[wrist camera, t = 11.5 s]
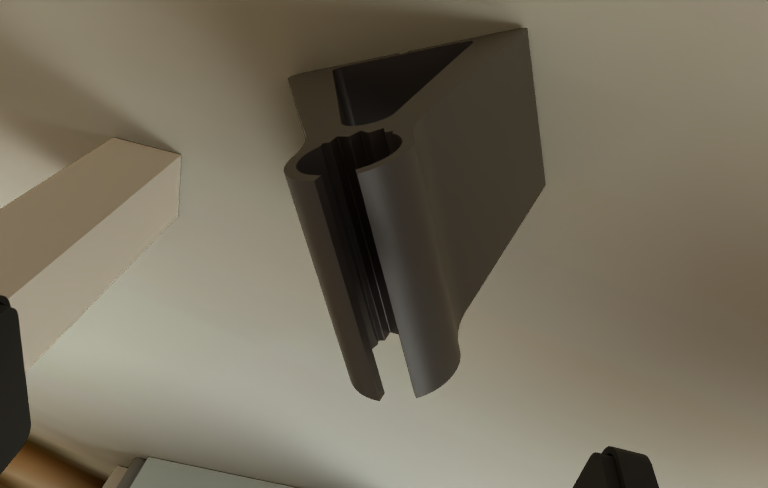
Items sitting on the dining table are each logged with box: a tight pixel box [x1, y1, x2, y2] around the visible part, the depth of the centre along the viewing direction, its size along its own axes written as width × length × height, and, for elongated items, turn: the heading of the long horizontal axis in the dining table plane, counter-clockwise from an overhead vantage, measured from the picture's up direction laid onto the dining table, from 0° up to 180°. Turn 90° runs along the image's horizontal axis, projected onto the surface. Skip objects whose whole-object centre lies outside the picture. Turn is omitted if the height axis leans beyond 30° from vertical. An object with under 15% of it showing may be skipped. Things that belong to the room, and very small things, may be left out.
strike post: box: [0, 138, 181, 372], centre depth 22 cm, size 3×3×12 cm
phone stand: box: [284, 28, 546, 401], centre depth 19 cm, size 9×6×12 cm, turn 102°
